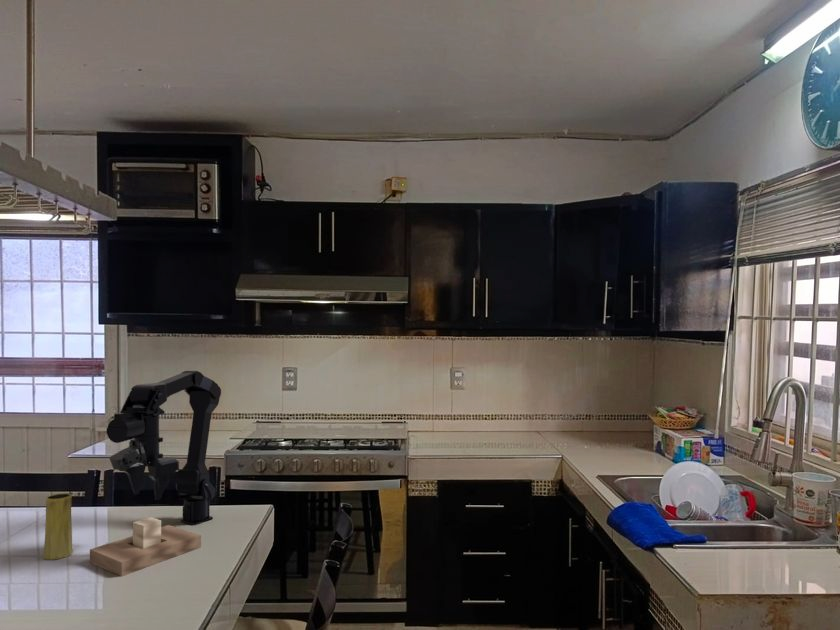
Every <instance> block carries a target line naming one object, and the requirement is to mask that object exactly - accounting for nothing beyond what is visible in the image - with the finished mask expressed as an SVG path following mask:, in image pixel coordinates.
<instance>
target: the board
mask: <svg viewBox="0 0 840 630" xmlns="http://www.w3.org/2000/svg"><path fill="white" fill-rule="evenodd" d="M199 548H202V534H198V533H196V532H192V531H188V530H187V529H186V530H185V529H183V528H179V527H176V526H172V525H170V524H167V525H164V526H161V543H159V544H156V545H153V546H150V547H147V548H144V549H140V548H137V547H135V546H133V535H131V536H128V537H125V538H123V539H119V540H116V541H113V542H109V543H106V544H103V545H100V546H96V547H94V548H93V547H92V548H90V549H89V563H90V564H93V565H95V566H98V567H100V568H101V569H104V570H106V571H108V572H111V573H113V574H116V575H118V576H120V577H123V576H127V575H129V574H131V573H134V572H137V571H139V570H143V569H146V568H148V567H151V566H155V565H156V564H159V563H162V562H164V561H167V560H169V559H173V558H176V557H178V556H180V555H183V554H187V553H189V552H192V551H195V550H197V549H199Z"/></svg>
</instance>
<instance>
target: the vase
mask: <svg viewBox="0 0 840 630" xmlns="http://www.w3.org/2000/svg"><path fill="white" fill-rule="evenodd" d="M72 496H73V495H72V494H71V493H70V492H69V493H68V492H64V493H63V492H62V493H60V492H59V493H55V494H51V495H49V496H46V499H45V527H44V531H45V532H44V544H43V556H42V558H43V559H44V560H47V561H48V560H49V561H54V560H60V559H64V558H67V557H70V556H71V555H72V554H73V553H74V549H73V528H72V527H73V526H72V525H73V523H72Z"/></svg>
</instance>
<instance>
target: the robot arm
mask: <svg viewBox="0 0 840 630" xmlns="http://www.w3.org/2000/svg"><path fill="white" fill-rule="evenodd" d="M182 391H184V392H185V394H187V395H188V397H189V400H188V403H189V406H190V408H191V410H192V412H193V415H192V421H191V428H190V429H191V430H190V437H189V441H188V442H189V443H188V451H187V457H186V463H185V464H184V466H183V467H182V468H180V461H178V459H177V458H172V457H164V454H163V453H162V452H161V453H160V443H162V442H164V437H161V436H160V415H165V410H164V409H162V408H161V406H163V404H165V403H166V402H167V400H168V398H169V397H171V396H173V395H175V394H178V393H180V392H182ZM221 395H222V389H221V387H220V386H219V384H218V383H216V382H215V380H213V379H211V378H210V377H207V376H205V375H204V374H203V373H202V372H201V371H198V370H184V371H182V372H181V373H178V374H176V375H173V376H171V377H168V378H166V379H163V380H160V381H157V382H154V383H153V382H152V383H141V384H136V385H133V386H132V387H131V389H130V391H129V394H128V395H127V397H126V400H125V402H124V403H123V405H122V407H121V409H120V412H118V413H114V414H113V419H111V420H110V422H109V423H108V425H107V428H106V434H107V437H108V439H109V440H110V441H111V442H113V443H114V444H119V443H123V442H124V443H125V442H127V441H129V442H128V444H129V445H128V447H126V448H123V449H121V450H119V451H118V452H116V453H114V454H112V455H110V457H109V461H110V463H111V466H112V469H113V470H114V471H115V470H117V471H119V472H123V473H124V474H126V476H127V478H128V481H129V483H130V487H131V489H132V493H133V495H139V494H140V491H141V488H142V484H143V479H144V475H145V471H146V468H147V471H148V473H149V474H147V477H149V478H150V479H151V480H152V482H153V484H152V485H153V495H154V500H155V501H159V500H160V499H161V498H162V495H163V494H164V492H165V490H166V487H168V484H169V482H170V480H171V478H172V477H173V475H174V474H177V475H176V481H175V489H176V490H175V491H176V493H177V496H178V497H177V498H178V500H179V501H182V500H183V505H182V518H181V519H180V522H183V523H185V524H186V523H187V524H189V525H193V526H194V525H197V524H201V523H205V522H207V521H210V520H213V516H211V515H210V508H211V507H210V506H211V505H210V502H211V501H212V500H213V498H215V494H216V491H217V490H216V488H215V487H214V486H213V485H212V483H211V482H210V472H209V470H208V469H209V468H207V466H206V458H207V457H206V456H207V452H208V451H207V450H208V449H207V448H208V442H209V434H210V428H211V422H212V421H211V419H212V414H213V413H214V411H215V409H216V408H217V407H218V405H219V403H220V398H221ZM176 472H177V473H176Z"/></svg>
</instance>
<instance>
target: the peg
mask: <svg viewBox="0 0 840 630" xmlns="http://www.w3.org/2000/svg"><path fill="white" fill-rule="evenodd" d="M161 527H162V520H161V519H158V518H155V517H151V516H150V517H148V518H144V519H140V520H137V521H133V523H132V536H133V546H135V547H137V548H140V549H144V548H147V547H150V546H153V545H156V544H159V543H161Z"/></svg>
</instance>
